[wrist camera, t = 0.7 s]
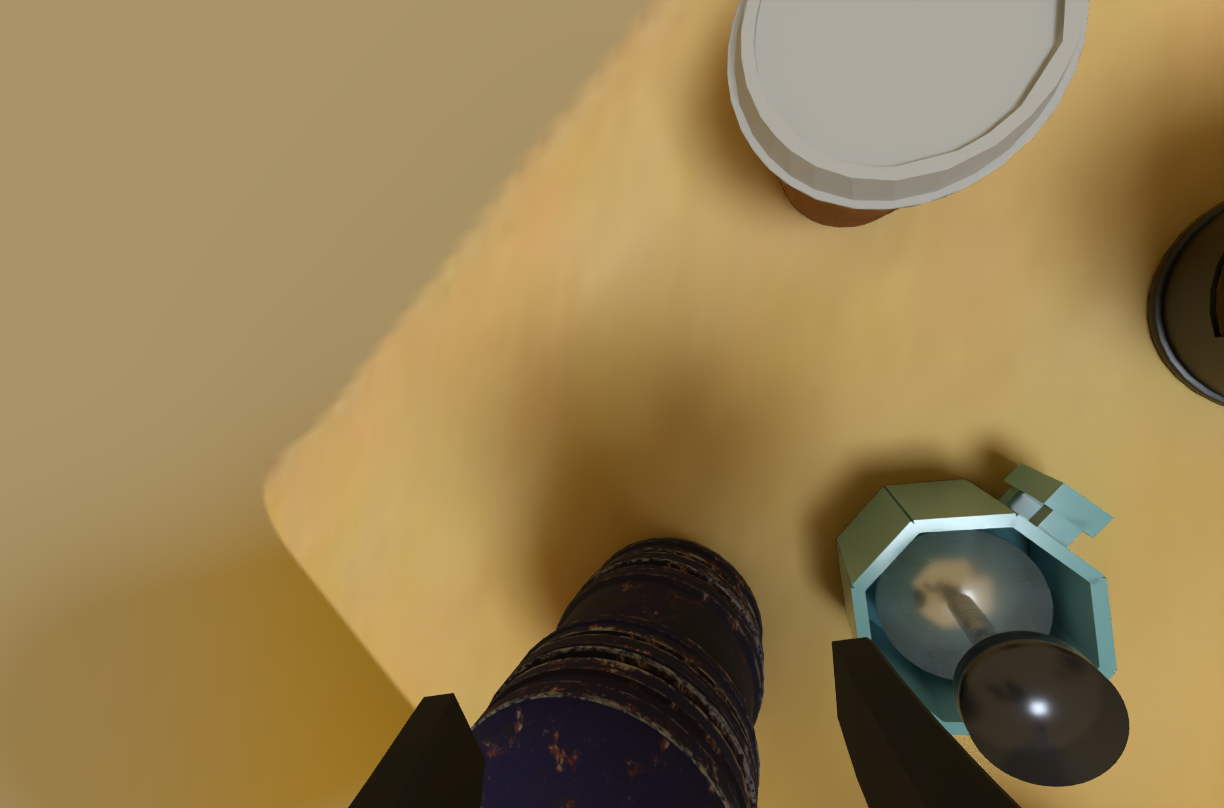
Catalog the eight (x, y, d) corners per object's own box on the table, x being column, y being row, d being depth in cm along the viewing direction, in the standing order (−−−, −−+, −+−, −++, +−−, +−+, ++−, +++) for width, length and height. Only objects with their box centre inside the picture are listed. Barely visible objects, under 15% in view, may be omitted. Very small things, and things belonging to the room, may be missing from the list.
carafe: (1116, 532, 25) (1214, 585, 20) (950, 691, 28) (995, 779, 22) (946, 414, 27) (993, 431, 21) (803, 575, 29) (810, 630, 24)
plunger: (1087, 597, 23) (1245, 722, 15) (971, 706, 24) (1062, 870, 17) (945, 495, 24) (1025, 562, 16) (842, 605, 25) (871, 715, 18)
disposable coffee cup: (885, 298, 27) (964, 258, 16) (708, 207, 29) (664, 112, 18) (1011, 103, 25) (1208, -107, 14) (813, 18, 27) (840, -230, 16)
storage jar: (590, 701, 33) (448, 967, 19) (578, 533, 32) (421, 676, 18) (770, 720, 30) (764, 1048, 16) (761, 537, 30) (746, 708, 15)
